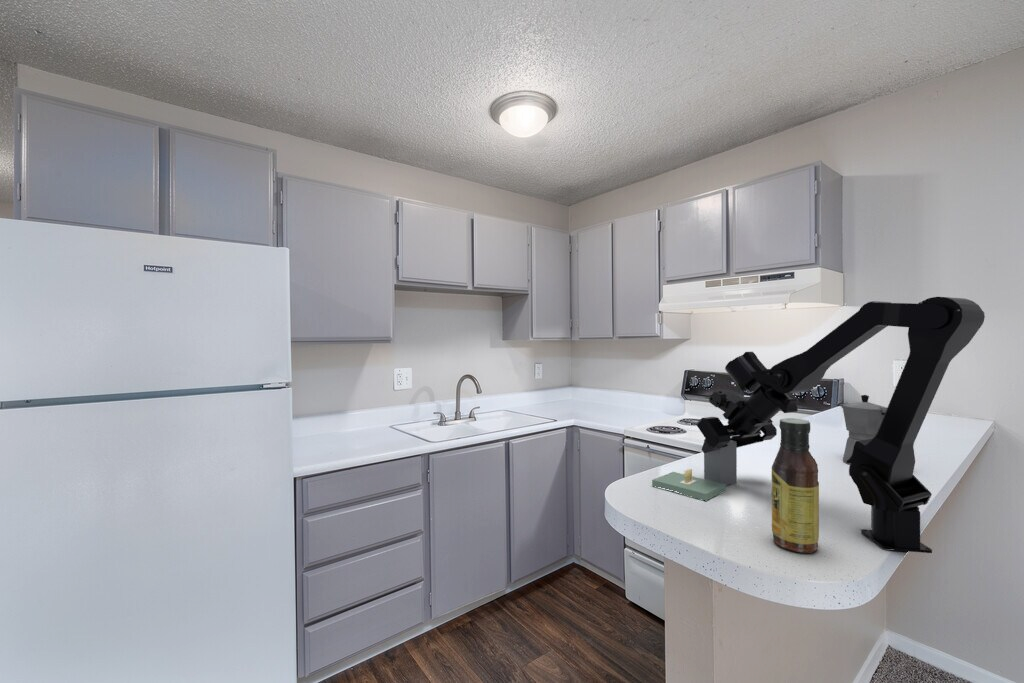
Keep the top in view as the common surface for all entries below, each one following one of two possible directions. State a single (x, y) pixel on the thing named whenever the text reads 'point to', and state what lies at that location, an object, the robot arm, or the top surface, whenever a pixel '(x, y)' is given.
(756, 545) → the top surface
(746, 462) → the top surface
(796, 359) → the robot arm
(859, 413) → the coffeepot
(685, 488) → the header board
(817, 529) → the sauce bottle
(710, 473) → the plug block
